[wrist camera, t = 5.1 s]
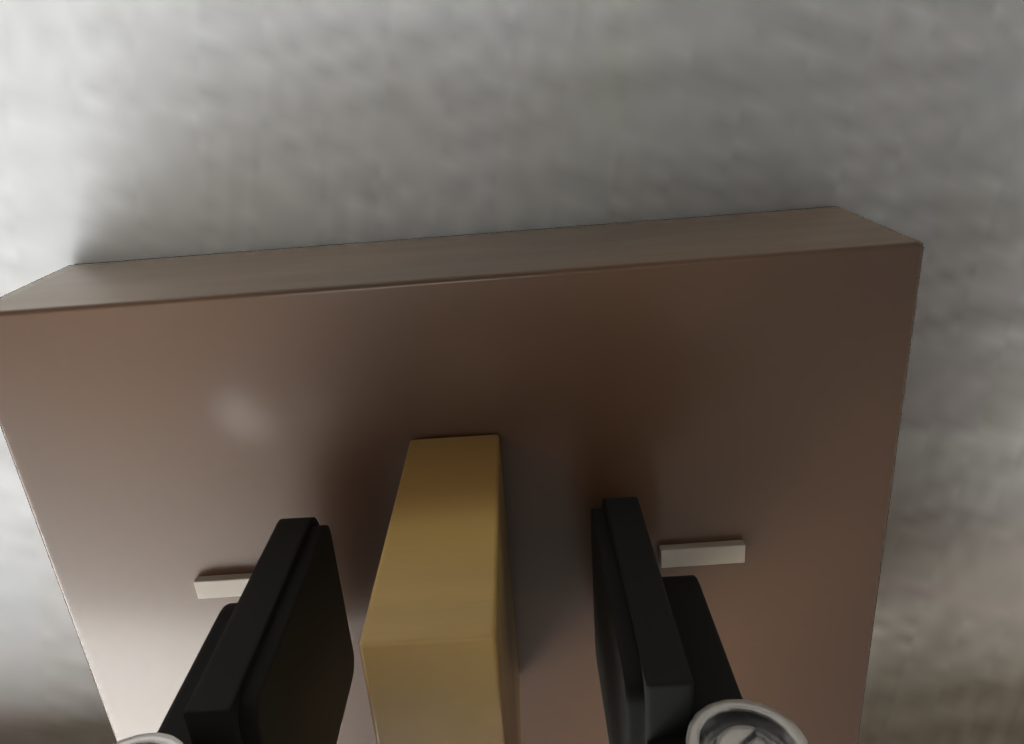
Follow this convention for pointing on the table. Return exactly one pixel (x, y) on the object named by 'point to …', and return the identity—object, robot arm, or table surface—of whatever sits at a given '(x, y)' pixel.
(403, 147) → the table surface
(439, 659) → the thumbturn
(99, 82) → the table surface
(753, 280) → the lock plate
